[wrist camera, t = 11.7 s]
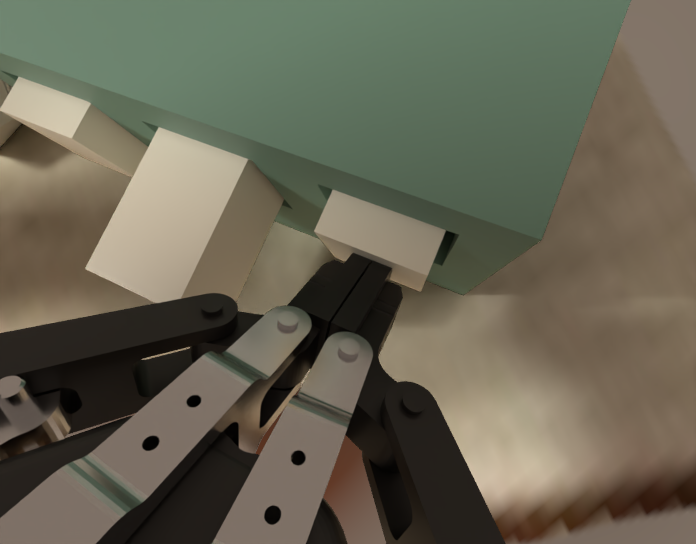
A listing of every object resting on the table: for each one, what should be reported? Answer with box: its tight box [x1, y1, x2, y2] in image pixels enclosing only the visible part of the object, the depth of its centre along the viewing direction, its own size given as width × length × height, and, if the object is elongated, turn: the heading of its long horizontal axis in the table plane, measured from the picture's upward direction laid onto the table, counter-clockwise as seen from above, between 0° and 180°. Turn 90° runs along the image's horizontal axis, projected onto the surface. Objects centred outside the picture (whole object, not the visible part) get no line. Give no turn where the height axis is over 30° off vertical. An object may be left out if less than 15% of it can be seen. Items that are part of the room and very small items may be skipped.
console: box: [0, 0, 631, 295], centre depth 14 cm, size 22×10×16 cm, turn 66°
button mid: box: [85, 127, 284, 303], centre depth 14 cm, size 4×6×4 cm, turn 156°
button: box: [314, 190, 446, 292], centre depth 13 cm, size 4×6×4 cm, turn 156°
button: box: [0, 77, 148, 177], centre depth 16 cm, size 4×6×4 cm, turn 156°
